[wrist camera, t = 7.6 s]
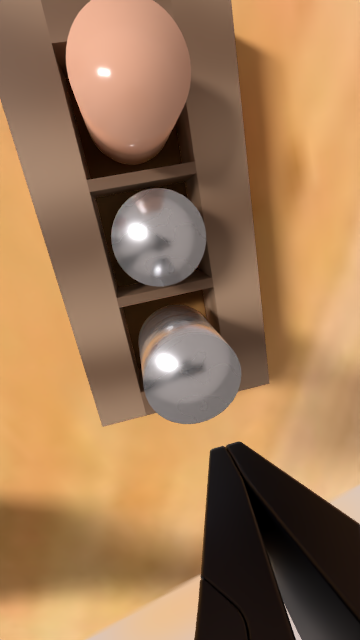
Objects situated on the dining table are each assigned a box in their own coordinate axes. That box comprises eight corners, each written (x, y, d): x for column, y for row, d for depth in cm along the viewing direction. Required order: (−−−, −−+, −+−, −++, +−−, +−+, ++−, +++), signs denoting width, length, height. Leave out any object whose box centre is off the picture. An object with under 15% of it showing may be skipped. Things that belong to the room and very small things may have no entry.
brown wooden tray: (250, 362, 21) (269, 383, 18) (105, 398, 20) (102, 426, 17) (209, 21, 15) (228, -25, 12) (0, 46, 14) (-30, 2, 11)
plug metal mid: (190, 264, 18) (212, 275, 14) (124, 278, 18) (124, 295, 13) (178, 192, 17) (198, 180, 13) (106, 205, 17) (100, 197, 12)
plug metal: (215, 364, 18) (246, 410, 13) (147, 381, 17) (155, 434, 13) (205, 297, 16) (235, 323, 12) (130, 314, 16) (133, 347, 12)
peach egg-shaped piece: (177, 157, 15) (199, 128, 11) (97, 171, 15) (85, 147, 10) (161, 60, 14) (179, -16, 10) (73, 72, 14) (48, -3, 9)
